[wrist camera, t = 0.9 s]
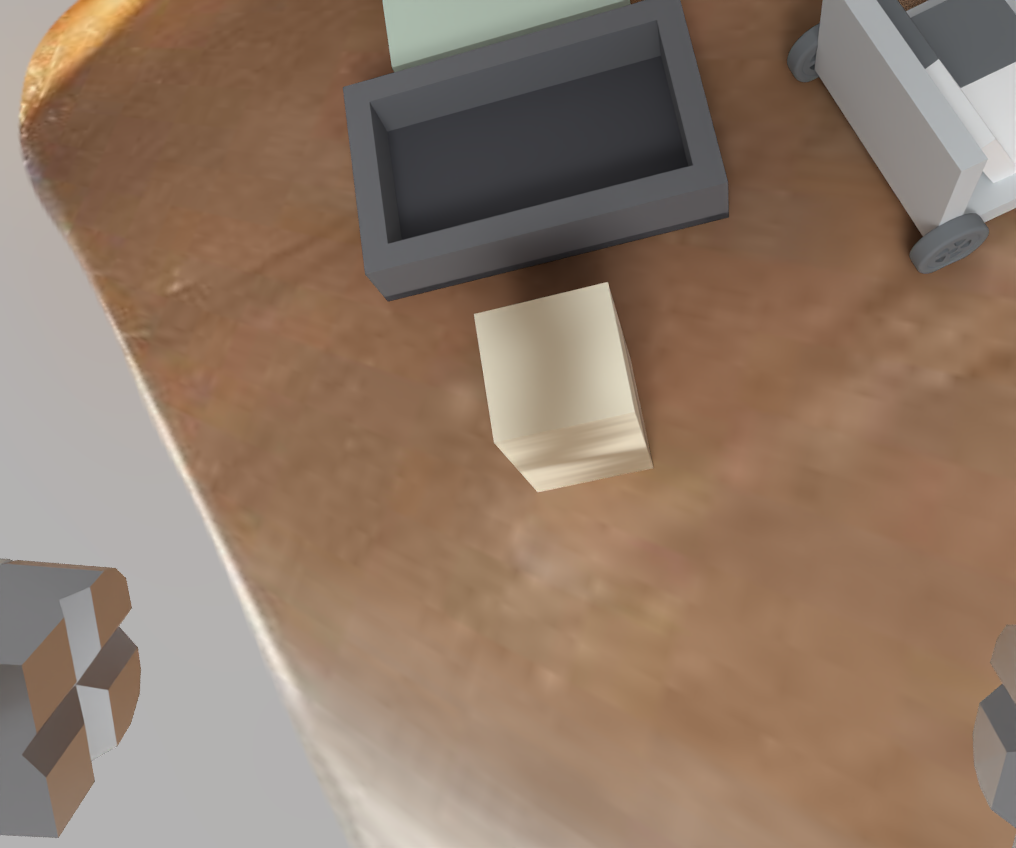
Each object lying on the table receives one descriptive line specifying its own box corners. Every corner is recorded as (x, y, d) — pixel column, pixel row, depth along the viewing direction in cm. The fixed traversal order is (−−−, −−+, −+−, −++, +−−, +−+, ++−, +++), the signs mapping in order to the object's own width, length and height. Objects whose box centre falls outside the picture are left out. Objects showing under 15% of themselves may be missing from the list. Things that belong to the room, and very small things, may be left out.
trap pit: (681, 35, 46) (677, -9, 43) (728, 217, 43) (728, 182, 40) (365, 123, 49) (342, 87, 46) (387, 301, 46) (365, 274, 43)
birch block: (630, 358, 42) (607, 282, 35) (653, 468, 41) (634, 411, 33) (519, 384, 43) (474, 314, 36) (537, 492, 41) (494, 442, 34)
